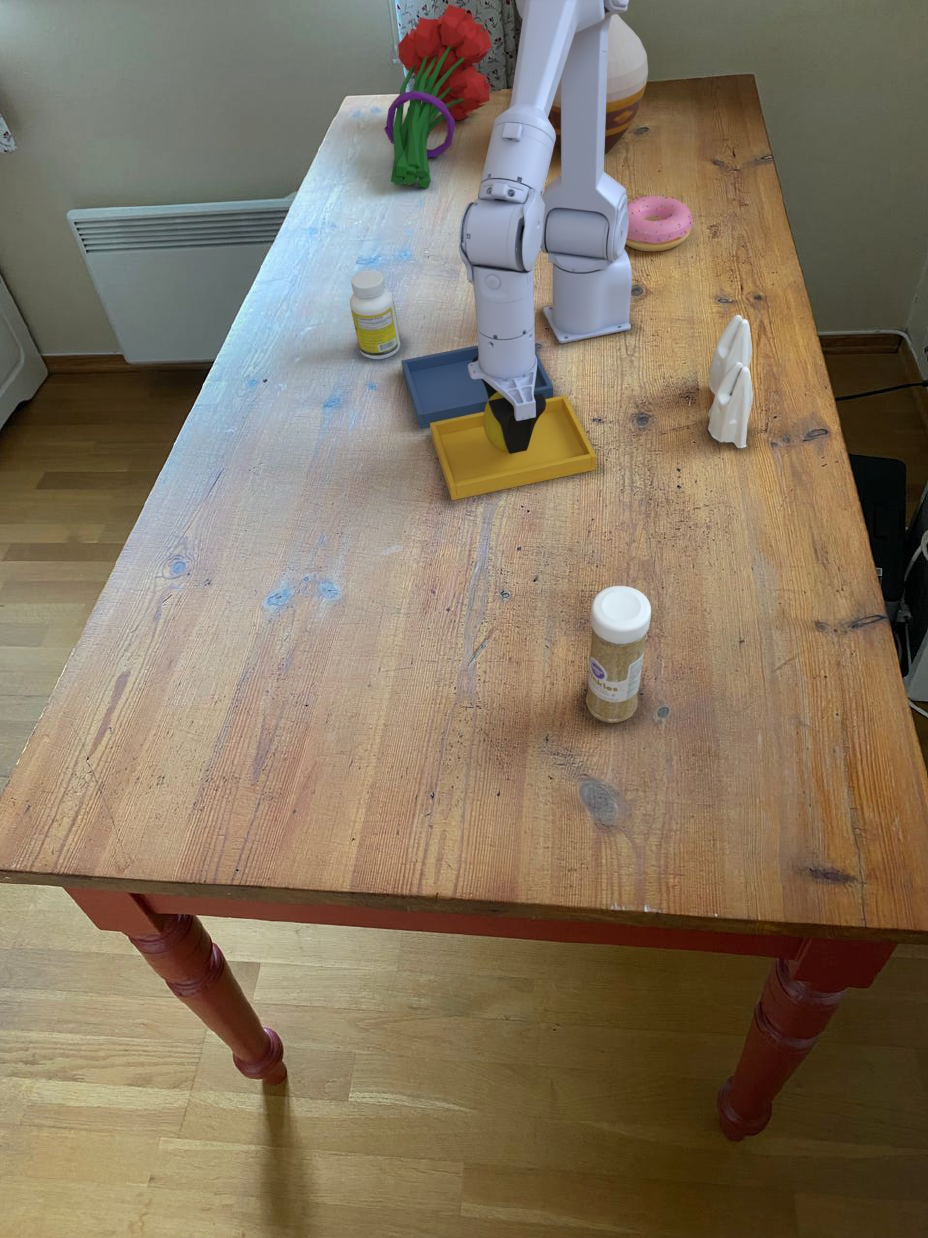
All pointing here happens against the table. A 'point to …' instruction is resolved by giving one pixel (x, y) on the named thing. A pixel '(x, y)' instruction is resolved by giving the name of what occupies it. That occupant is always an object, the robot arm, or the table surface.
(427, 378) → the blue tray
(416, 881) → the table surface
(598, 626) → the sprinkles bottle
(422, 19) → the bouquet
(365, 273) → the supplement bottle
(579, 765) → the table surface
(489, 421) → the lemon
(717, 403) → the shaker set
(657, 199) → the doughnut
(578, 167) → the robot arm
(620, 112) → the jug
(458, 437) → the yellow tray
